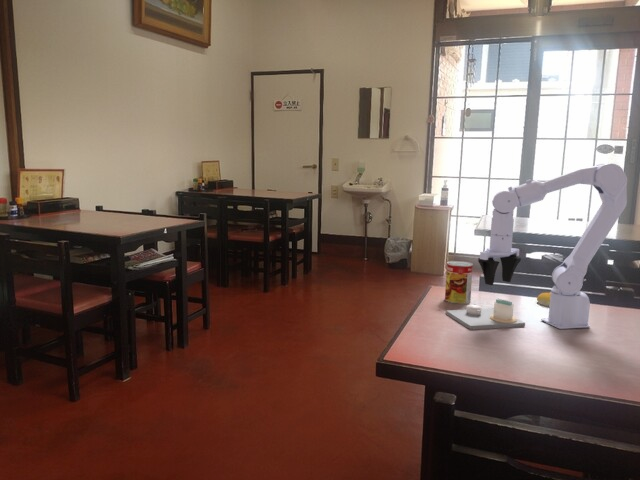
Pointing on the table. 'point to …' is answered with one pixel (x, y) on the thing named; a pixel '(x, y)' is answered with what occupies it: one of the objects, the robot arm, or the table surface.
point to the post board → (481, 318)
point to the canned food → (458, 282)
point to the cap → (503, 310)
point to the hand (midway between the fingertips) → (497, 282)
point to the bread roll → (544, 299)
